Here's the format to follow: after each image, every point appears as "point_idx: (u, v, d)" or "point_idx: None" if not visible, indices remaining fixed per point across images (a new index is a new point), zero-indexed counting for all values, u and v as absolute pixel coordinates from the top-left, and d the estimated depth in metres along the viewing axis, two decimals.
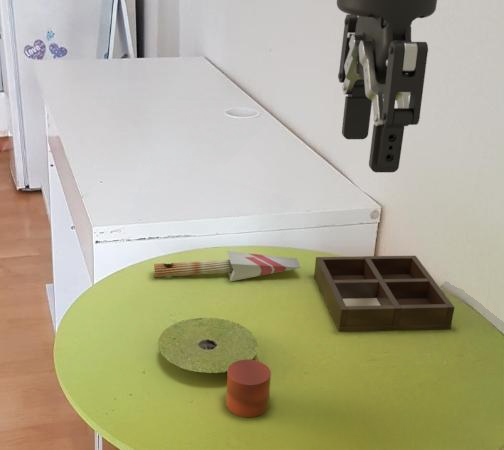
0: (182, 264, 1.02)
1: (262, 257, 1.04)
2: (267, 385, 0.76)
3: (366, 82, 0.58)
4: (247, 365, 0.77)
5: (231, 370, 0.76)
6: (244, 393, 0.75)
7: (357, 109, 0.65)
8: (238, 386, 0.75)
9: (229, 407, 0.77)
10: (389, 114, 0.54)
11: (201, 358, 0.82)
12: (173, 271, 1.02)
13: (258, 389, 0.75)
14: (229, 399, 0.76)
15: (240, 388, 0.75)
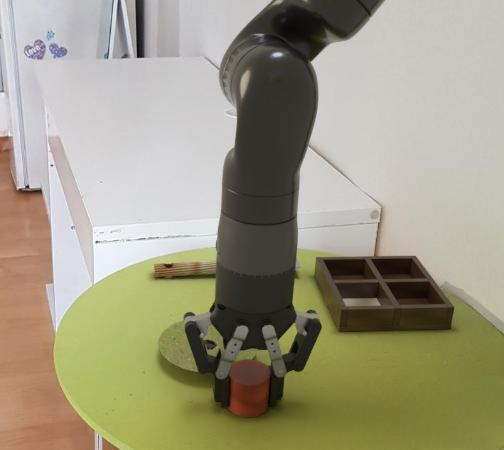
0: (182, 264, 1.02)
1: None
2: (267, 385, 0.75)
3: None
4: (247, 365, 0.77)
5: (231, 370, 0.76)
6: (244, 393, 0.75)
7: None
8: (238, 386, 0.75)
9: (229, 407, 0.77)
10: None
11: None
12: (173, 271, 1.02)
13: (258, 389, 0.75)
14: (229, 399, 0.76)
15: (240, 389, 0.75)
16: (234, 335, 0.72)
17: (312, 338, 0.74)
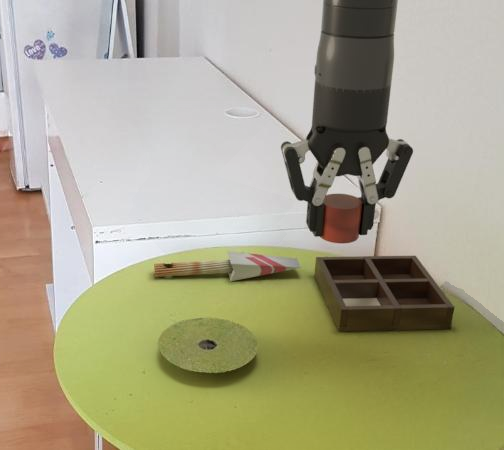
0: (182, 264, 1.02)
1: (262, 257, 1.04)
2: (360, 212, 0.80)
3: None
4: (338, 197, 0.82)
5: (324, 200, 0.81)
6: (338, 218, 0.79)
7: None
8: (333, 212, 0.79)
9: (323, 236, 0.81)
10: None
11: (201, 358, 0.82)
12: (173, 271, 1.02)
13: (352, 214, 0.79)
14: (323, 228, 0.81)
15: (335, 214, 0.79)
16: (332, 158, 0.76)
17: (403, 163, 0.78)
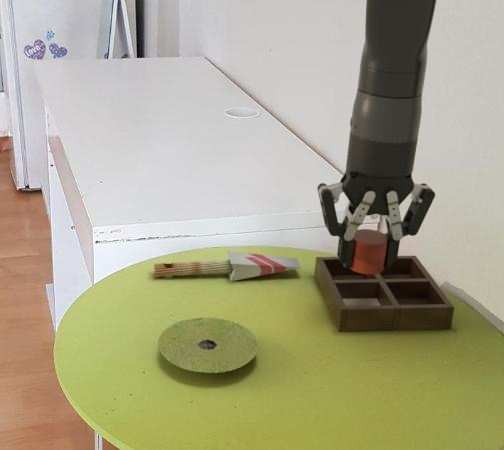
0: (182, 264, 1.02)
1: (262, 256, 1.04)
2: (386, 247, 0.89)
3: None
4: (367, 232, 0.91)
5: None
6: (367, 252, 0.89)
7: None
8: (362, 246, 0.89)
9: (352, 267, 0.91)
10: None
11: (201, 358, 0.82)
12: (173, 271, 1.02)
13: (379, 249, 0.89)
14: (352, 260, 0.90)
15: (364, 248, 0.89)
16: (363, 199, 0.86)
17: (426, 205, 0.88)
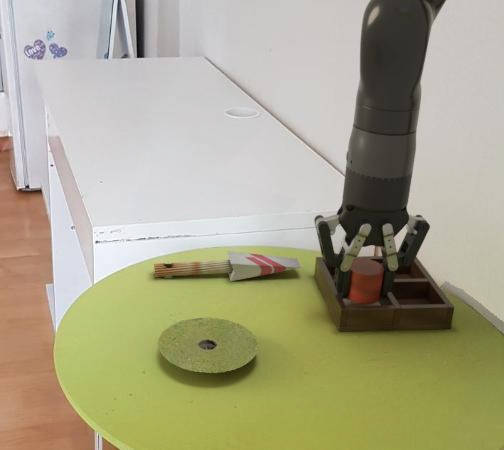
0: (182, 264, 1.02)
1: (262, 256, 1.04)
2: (382, 277, 0.91)
3: None
4: (363, 262, 0.93)
5: (351, 265, 0.92)
6: (363, 282, 0.90)
7: None
8: (358, 277, 0.90)
9: (348, 297, 0.92)
10: None
11: (201, 358, 0.82)
12: (173, 271, 1.02)
13: (375, 279, 0.90)
14: (349, 290, 0.92)
15: (360, 279, 0.90)
16: (359, 232, 0.88)
17: (421, 236, 0.89)
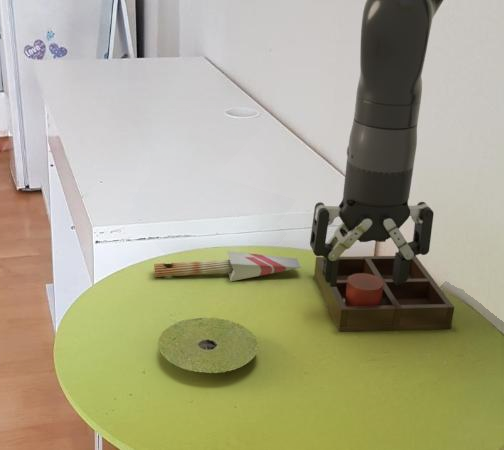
0: (182, 264, 1.02)
1: (262, 256, 1.04)
2: (381, 292, 0.92)
3: None
4: (363, 277, 0.94)
5: (350, 280, 0.93)
6: (363, 297, 0.91)
7: (397, 263, 0.92)
8: (358, 292, 0.91)
9: None
10: None
11: (201, 358, 0.82)
12: (173, 271, 1.02)
13: (375, 294, 0.91)
14: (349, 304, 0.93)
15: (360, 294, 0.91)
16: (360, 227, 0.87)
17: (428, 223, 0.89)
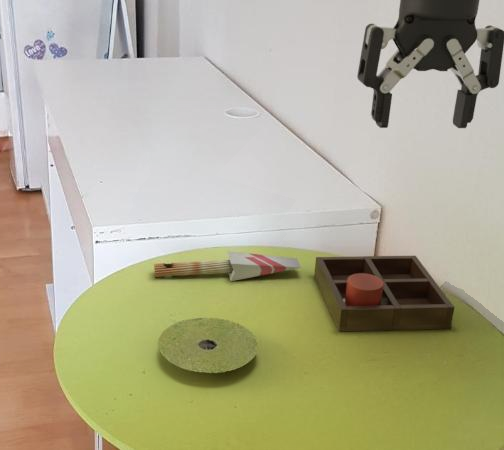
0: (182, 264, 1.02)
1: (262, 256, 1.04)
2: (381, 292, 0.92)
3: (398, 59, 0.79)
4: (363, 277, 0.94)
5: (350, 280, 0.93)
6: (363, 297, 0.91)
7: (460, 101, 0.79)
8: (358, 292, 0.91)
9: None
10: None
11: (201, 358, 0.82)
12: (173, 271, 1.02)
13: (375, 294, 0.91)
14: (349, 304, 0.93)
15: (360, 294, 0.91)
16: (420, 49, 0.75)
17: (498, 48, 0.76)
